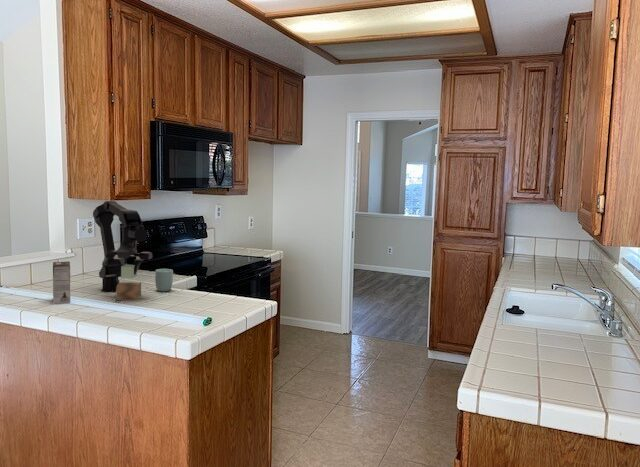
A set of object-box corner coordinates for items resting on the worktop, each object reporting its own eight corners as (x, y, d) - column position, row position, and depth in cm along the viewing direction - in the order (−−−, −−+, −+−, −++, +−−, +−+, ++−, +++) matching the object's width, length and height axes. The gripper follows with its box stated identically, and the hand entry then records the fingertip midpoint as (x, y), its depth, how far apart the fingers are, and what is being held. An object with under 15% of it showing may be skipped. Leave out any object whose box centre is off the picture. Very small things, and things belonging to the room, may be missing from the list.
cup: (167, 293, 227) (167, 272, 226) (152, 291, 228) (152, 270, 227) (175, 290, 235) (175, 269, 234) (160, 288, 236) (161, 268, 235)
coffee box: (52, 299, 207) (52, 261, 206) (69, 297, 210) (69, 261, 209) (53, 304, 199) (52, 265, 198) (70, 302, 202) (70, 264, 201)
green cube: (121, 277, 213) (121, 266, 212) (125, 275, 218) (125, 264, 217) (132, 278, 213) (132, 267, 213) (136, 276, 218) (136, 265, 217)
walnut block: (116, 300, 211) (116, 286, 210) (120, 295, 220) (120, 282, 219) (138, 299, 213) (138, 286, 212) (141, 295, 222) (141, 282, 221)
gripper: (100, 240, 206) (99, 276, 207) (144, 242, 206) (144, 278, 208) (110, 237, 217) (110, 272, 218) (153, 239, 217) (152, 273, 219)
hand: (129, 274), depth 215 cm, fingers closed on green cube, 5 cm apart
